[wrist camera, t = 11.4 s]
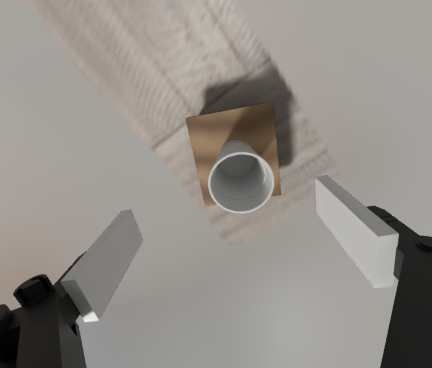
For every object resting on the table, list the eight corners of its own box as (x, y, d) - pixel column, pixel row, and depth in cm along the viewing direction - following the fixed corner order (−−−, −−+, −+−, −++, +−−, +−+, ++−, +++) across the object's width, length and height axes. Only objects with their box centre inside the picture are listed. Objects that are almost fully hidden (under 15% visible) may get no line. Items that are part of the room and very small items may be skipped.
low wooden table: (190, 115, 42) (185, 118, 36) (266, 101, 40) (273, 101, 35) (207, 193, 47) (205, 206, 42) (274, 182, 46) (281, 194, 40)
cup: (249, 127, 36) (261, 140, 25) (266, 170, 39) (283, 200, 28) (205, 146, 38) (197, 167, 26) (223, 187, 40) (223, 221, 29)
